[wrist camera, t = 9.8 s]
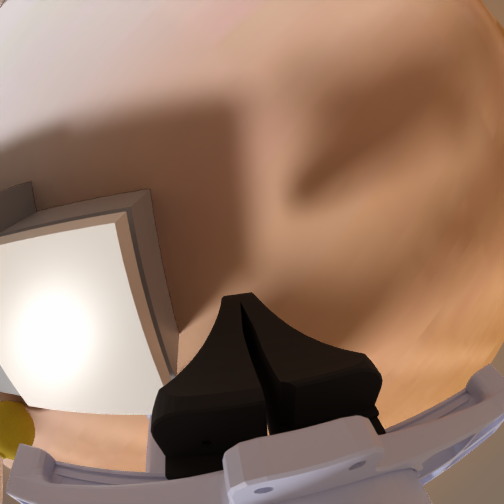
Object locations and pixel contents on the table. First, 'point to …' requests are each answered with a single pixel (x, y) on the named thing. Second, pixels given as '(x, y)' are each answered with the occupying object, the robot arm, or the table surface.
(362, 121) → the table surface
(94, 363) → the cream square tile
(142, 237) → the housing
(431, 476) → the robot arm
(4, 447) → the lemon
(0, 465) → the cup
